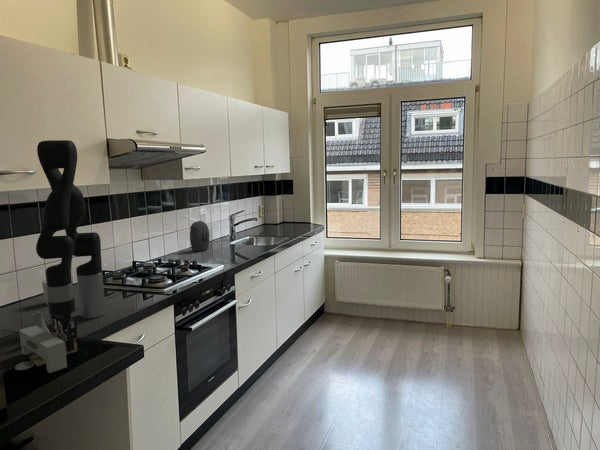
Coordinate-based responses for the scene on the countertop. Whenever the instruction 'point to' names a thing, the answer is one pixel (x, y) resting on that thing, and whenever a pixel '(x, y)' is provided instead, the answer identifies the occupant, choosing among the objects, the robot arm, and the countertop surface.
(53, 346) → the low white stool
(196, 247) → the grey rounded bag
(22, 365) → the disc
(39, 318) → the flask
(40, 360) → the brown block
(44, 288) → the white cup
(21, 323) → the countertop surface
